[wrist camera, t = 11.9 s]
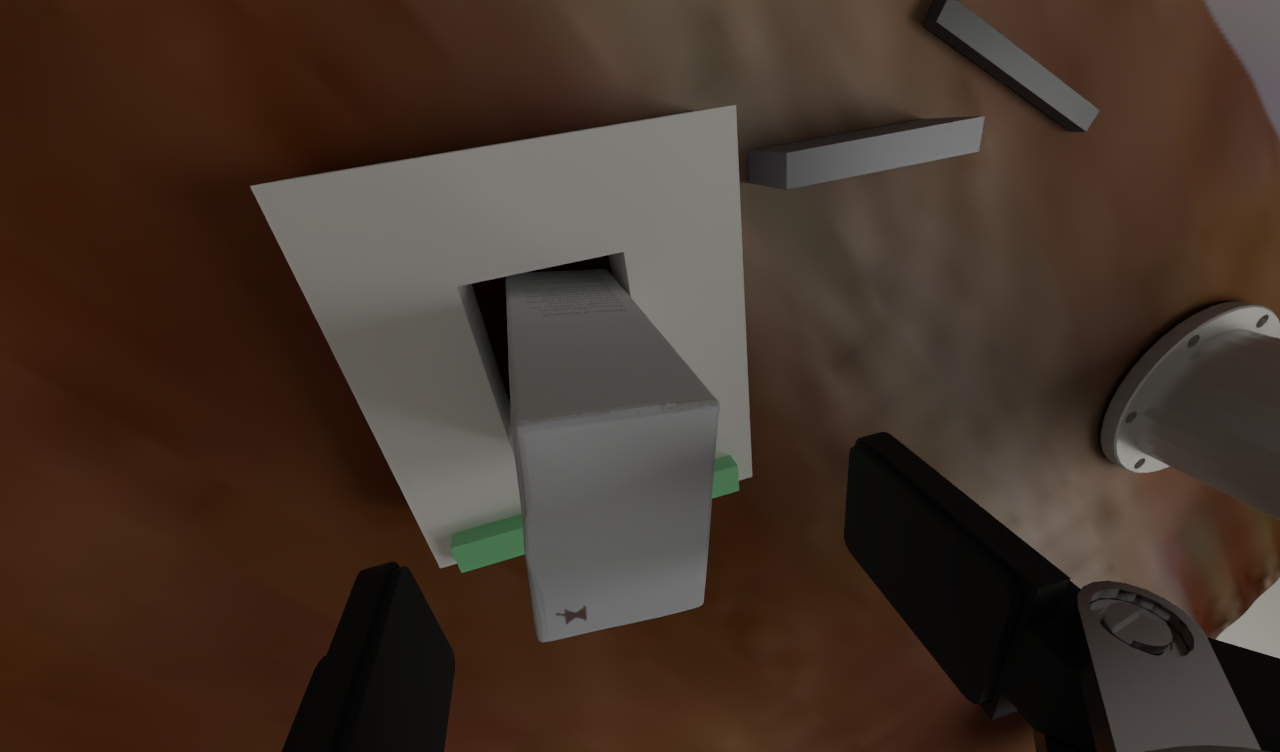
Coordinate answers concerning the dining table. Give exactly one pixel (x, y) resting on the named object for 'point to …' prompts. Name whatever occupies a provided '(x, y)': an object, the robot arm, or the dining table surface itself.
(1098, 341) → the dining table surface
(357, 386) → the socket
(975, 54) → the dark grey bars
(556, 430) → the skincare box
